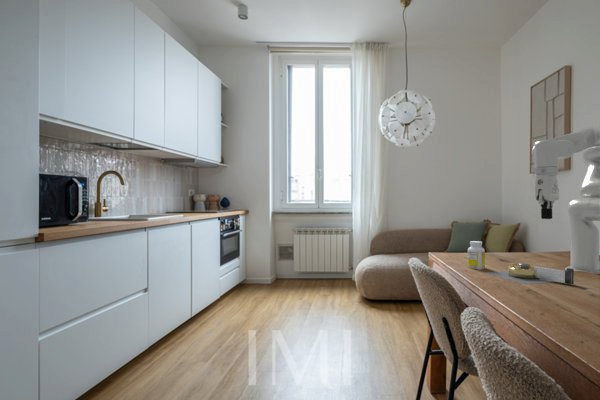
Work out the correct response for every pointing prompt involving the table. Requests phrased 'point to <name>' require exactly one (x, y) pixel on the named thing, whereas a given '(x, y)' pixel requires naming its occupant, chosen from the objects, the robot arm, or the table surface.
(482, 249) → the supplement bottle
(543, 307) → the table surface
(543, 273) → the multicoloured piece
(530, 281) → the base plate
